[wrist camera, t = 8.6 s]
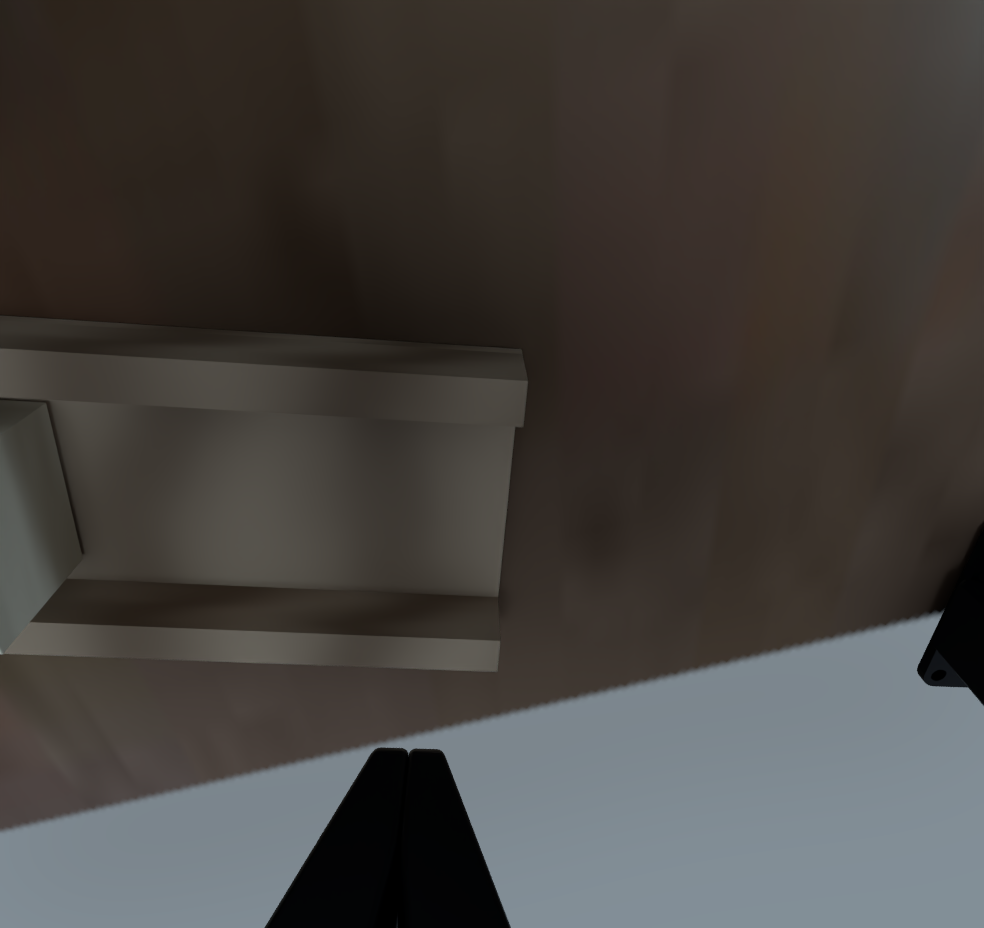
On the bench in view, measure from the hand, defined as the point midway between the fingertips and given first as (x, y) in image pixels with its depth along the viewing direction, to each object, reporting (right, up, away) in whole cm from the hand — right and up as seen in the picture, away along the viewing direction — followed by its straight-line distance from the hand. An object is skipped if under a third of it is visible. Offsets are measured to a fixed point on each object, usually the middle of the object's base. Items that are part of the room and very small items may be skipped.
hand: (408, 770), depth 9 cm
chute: (-9, +3, +12) cm, 15 cm away
